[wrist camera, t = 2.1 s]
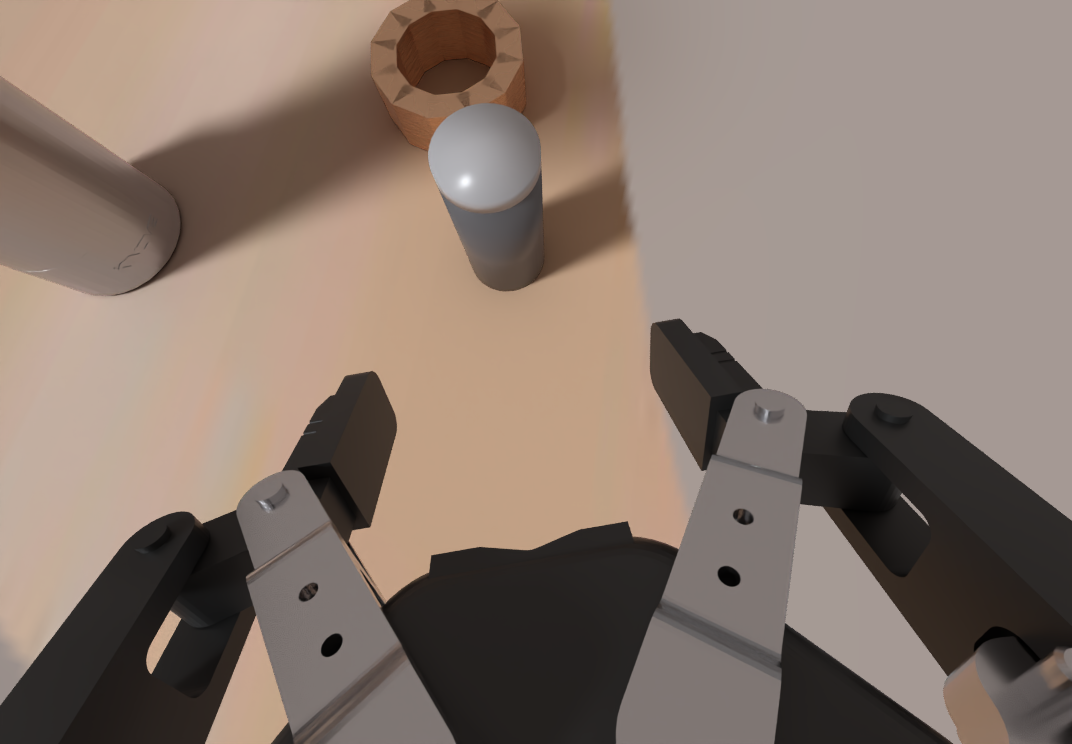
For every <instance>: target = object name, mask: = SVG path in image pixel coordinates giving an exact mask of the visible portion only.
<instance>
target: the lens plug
mask: <svg viewBox="0 0 1072 744" xmlns="http://www.w3.org/2000/svg"><path fill="white" fill-rule="evenodd" d="M428 160H429V166H430V170H431V172H432V174H433V177H434V179H435V181H436V184H437V186H438V188H439V191H440V193H441V195H442V198H443V200H444V202H445V205H446V207H447V209H448V212H449V214H450V216H451V219H452V221H453V223H454V226H455V228H456V230H457V233H458V235H459V237H460V240H461V242H462V244H463V247H464V249H465V251H466V254H467V256H468V258H469V261H470V263H471V265H472V268H473V270H474V272H475V274H476V276H477V277H478V278H479V280H480V281H481V282H482V283H484V284H485V285H486V286H488V287H490V288H492V289H495V290H499V291H514V290H518V289H521V288H523V287H525V286H527V285H529V284H530V283H531V282H532V281H534V280H535V279H536V277H537V276H538V275H539V273H540V271H541V269H542V267H543V263H544V235H543V204H542V173H541V146H540V140H539V137H538V134H537V132H536V130H535V128H534V126H533V125H532V124H531V122H530V121H529V120H528V119H527V118H526V117H525V116H524V115H522V114H521V113H519V112H518V111H516V110H514V109H512V108H510V107H507V106H504V105H500V104H493V103H481V104H474V105H471V106H467V107H464V108H462V109H460V110H458V111H456V112H454V113H453V114H451V115H450V116H448V117H447V118H446V119H445V120H444V121H443V122H442V123H441V124H440V125H439V126H438V128H437V129H436V131H435V132H434V135H433V137H432V139H431V142H430V145H429V151H428Z"/></svg>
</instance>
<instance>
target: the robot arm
mask: <svg viewBox="0 0 1072 744" xmlns="http://www.w3.org/2000/svg"><path fill="white" fill-rule="evenodd" d="M180 223H181V222H180V215H179V209H178V207H177V205H176V202H175V200H174V198H173V197H172V196H171V195H170V193H169V192H168V191H167V190H166V189H165V188H163V187H162V186H161V185H160V184H158V183H157V182H155V181H154V180H152V179H151V178H149V177H148V176H146V175H145V174H143V173H142V172H141V171H139V170H138V169H136V168H135V167H133V166H132V165H130V164H129V163H127V162H126V161H124V160H123V159H121V158H120V157H118V156H117V155H116V154H114V153H113V152H111V151H110V150H108V149H107V148H106V147H104V146H103V145H101V144H100V143H98V142H97V141H95V140H94V139H92V138H91V137H89V136H88V135H87V134H85V133H84V132H82V131H81V130H79V129H78V128H76V127H75V126H73V125H72V124H70V123H69V122H67V121H66V120H64V119H63V118H62V117H60V116H59V115H57V114H56V113H54V112H53V111H51V110H50V109H48V108H47V107H45V106H44V105H42V104H41V103H39V102H38V101H36V100H35V99H34V98H32V97H31V96H29V95H28V94H26V93H25V92H23V91H22V90H20V89H19V88H17V87H16V86H14V85H13V84H11V83H10V82H8V81H7V80H6V79H4V78H3V77H1V76H0V265H3V266H6V267H9V268H12V269H15V270H17V271H20V272H23V273H26V274H29V275H32V276H35V277H38V278H41V279H44V280H47V281H50V282H53V283H56V284H59V285H62V286H65V287H68V288H71V289H74V290H77V291H80V292H83V293H87V294H91V295H98V296H110V295H115V294H121V293H124V292H127V291H129V290H132V289H135V288H137V287H138V286H140V285H142V284H143V283H145V282H147V281H148V280H150V279H151V278H152V277H153V276H154V275H155V274H157V273H158V272H159V271H160V270H161V269H162V267H163V266H164V265H165V264H166V262H167V261H168V260H169V258H170V257H171V255H172V253H173V251H174V249H175V247H176V244H177V241H178V238H179V234H180ZM650 374H651V379H652V383H653V386H654V388H655V390H656V392H657V394H658V396H659V397H660V399H661V401H662V403H663V404H664V406H665V408H666V410H667V411H668V413H669V415H670V417H671V418H672V420H673V422H674V424H675V425H676V427H677V429H678V431H679V432H680V434H681V436H682V438H683V439H684V441H685V443H686V445H687V446H688V448H689V450H690V452H691V453H692V455H693V457H694V458H695V460H696V462H697V464H698V466H699V467H700V469H701V470H702V471H704V470H706V473H705V476H704V479H703V482H702V485H701V488H700V491H699V493H698V496H697V499H696V502H695V505H694V508H693V510H692V513H691V516H690V519H689V522H688V525H687V528H686V531H685V533H684V536H683V539H682V542H681V545H680V548H679V549H677V548H675V547H672V546H670V545H668V544H665V543H662V542H659V541H656V540H652V539H647V538H642V537H632V534H631V531H630V527H629V524H628V521H627V522H621V523H615V524H610V525H604V526H598V527H592V528H587V529H581V530H578V531H575V532H573V533H571V534H568V535H566V536H564V537H561V538H559V539H557V540H554V541H552V542H550V543H548V544H545V545H543V546H541V547H538V548H536V549H533V550H512V549H499V548H485V547H477V548H471V549H466V550H460V551H454V552H448V553H443V554H437V555H431V563H430V571H429V573H427V574H425V575H423V576H421V577H419V578H417V579H416V580H414V581H412V582H411V583H409V584H408V585H406V586H405V587H404V588H402V589H401V590H400V591H398V592H397V593H396V594H395V595H394V596H393V597H391V598H390V599H389V600H388V601H387V602H386V600H385V599H384V597H383V595H382V594H381V592H380V591H379V589H378V587H377V586H376V584H375V582H374V581H373V579H372V577H371V576H370V574H369V572H368V571H367V569H366V568H365V566H364V564H363V563H362V561H361V559H360V558H359V556H358V554H357V553H356V551H355V549H354V548H353V546H352V545H351V543H350V542H349V538H350V535H351V532H352V530H357V529H362V528H368V527H370V526H371V523H372V519H373V515H374V512H375V508H376V505H377V501H378V497H379V494H380V490H381V486H382V483H383V479H384V476H385V472H386V468H387V465H388V461H389V458H390V454H391V450H392V447H393V443H394V440H395V436H396V432H397V422H396V417H395V413H394V411H393V409H392V406H391V404H390V402H389V400H388V397H387V395H386V393H385V390H384V388H383V386H382V384H381V381H380V379H379V377H378V375H377V374H376V373H375V372H373V371H371V372H365V373H359V374H353V375H348V376H345V377H344V379H343V381H342V383H341V385H340V387H339V389H338V391H337V392H336V394H335V395H332V396H330V397H329V398H328V399H327V400H325V401H324V402H323V403H322V404H321V405H320V406H319V407H318V408H317V409H316V411H315V413H314V415H313V416H312V418H311V420H310V424H308V425H307V427H306V429H305V431H304V435H303V436H301V438H300V440H299V442H298V443H297V445H296V447H295V449H294V450H293V452H292V454H291V456H290V458H289V459H288V461H287V463H286V465H285V467H284V468H283V470H282V472H278V473H275V474H273V475H271V476H268V477H267V478H265V479H263V480H261V481H260V482H258V483H257V484H256V485H254V486H253V487H252V488H251V489H250V490H248V492H247V493H246V494H245V495H244V496H243V497H242V499H241V500H240V502H239V504H238V506H237V510H235V511H233V512H230V513H228V514H225V515H223V516H220V517H218V518H215V519H213V520H210V521H208V522H206V523H203V524H201V523H200V522H199V521H198V520H197V519H196V518H195V517H194V516H193V515H192V514H191V513H189V512H175V513H171V514H168V515H165V516H163V517H161V518H159V519H156V520H155V521H153V522H151V523H149V524H148V525H146V526H145V527H143V528H142V529H140V530H139V531H138V532H136V533H135V534H134V535H133V536H132V537H130V538H129V539H128V540H127V541H126V542H125V543H124V545H123V546H122V547H121V548H120V549H119V551H118V552H117V553H116V555H115V556H114V557H113V559H112V560H111V561H110V563H109V564H108V565H107V566H106V568H105V569H104V570H103V572H102V573H101V574H100V576H99V577H98V578H97V580H96V581H95V582H94V583H93V585H92V586H91V587H90V589H89V590H88V591H87V593H86V594H85V595H84V597H83V598H82V599H81V601H80V602H79V603H78V604H77V606H76V607H75V608H74V610H73V611H72V612H71V614H70V615H69V616H68V618H67V619H66V620H65V622H64V623H63V624H62V625H61V627H60V628H59V629H58V631H57V632H56V633H55V635H54V636H53V637H52V639H51V640H50V641H49V642H48V644H47V645H46V646H45V648H44V649H43V650H42V652H41V653H40V654H39V656H38V657H37V658H36V660H35V661H34V662H33V663H32V665H31V666H30V667H29V669H28V670H27V671H26V673H25V674H24V675H23V677H22V678H21V679H20V680H19V682H18V683H17V684H16V686H15V687H14V688H13V690H12V691H11V692H10V694H9V695H8V696H7V698H6V699H5V700H4V702H3V703H2V704H1V705H0V744H205V742H206V739H207V737H208V734H209V732H210V729H211V727H212V724H213V722H214V719H215V717H216V714H217V712H218V709H219V707H220V704H221V702H222V699H223V697H224V694H225V692H226V689H227V687H228V684H229V682H230V679H231V677H232V674H233V672H234V669H235V667H236V664H237V662H238V659H239V656H240V654H241V651H242V649H243V646H244V644H245V641H246V639H247V636H248V634H249V631H250V629H251V626H252V624H253V621H254V619H255V616H257V619H258V622H259V625H260V629H261V632H262V635H263V639H264V642H265V645H266V649H267V652H268V655H269V658H270V662H271V665H272V668H273V672H274V675H275V678H276V682H277V685H278V688H279V692H280V695H281V698H282V701H283V705H284V708H285V711H286V715H287V718H288V721H289V722H288V723H287V725H286V726H285V727H284V728H283V730H282V731H281V732H280V733H279V735H278V736H277V737H276V738H275V739H274V741H273V742H272V743H271V744H953V743H951V742H950V741H949V740H948V739H946V738H945V737H943V736H942V735H941V734H940V733H938V732H937V731H935V730H934V729H933V728H931V727H930V726H928V725H927V724H926V723H924V722H923V721H921V720H920V719H919V718H917V717H916V716H914V715H913V714H912V713H910V712H909V711H907V710H906V709H905V708H903V707H902V706H900V705H899V704H898V703H896V702H895V701H893V700H892V699H891V698H889V697H888V696H886V695H885V694H884V693H882V692H881V691H879V690H878V689H877V688H875V687H874V686H872V685H871V684H870V683H868V682H866V681H865V680H864V679H863V678H861V677H860V676H858V675H857V674H855V673H854V672H853V671H851V670H850V669H849V668H847V667H846V666H844V665H843V664H842V663H840V662H839V661H837V660H836V659H834V658H833V657H832V656H830V655H829V654H827V653H826V652H825V651H823V650H822V649H820V648H819V647H818V646H816V645H815V644H814V643H812V642H811V641H809V640H808V639H807V638H805V637H804V636H802V635H801V634H800V633H798V632H796V631H795V630H794V629H793V628H791V627H790V626H788V625H787V624H786V623H785V618H786V611H787V603H788V595H789V587H790V579H791V571H792V562H793V554H794V547H795V539H796V531H797V523H798V514H799V507H800V504H805V505H813V506H823V507H824V509H825V510H826V512H827V513H828V514H829V516H830V517H831V519H832V520H833V521H834V523H835V524H836V525H837V527H838V528H839V529H840V530H841V532H842V533H843V535H844V536H845V537H846V539H847V540H848V542H849V543H850V544H851V545H852V547H853V548H854V550H855V551H856V552H857V554H858V555H859V556H860V558H861V559H862V560H863V562H864V563H865V565H866V566H867V567H868V569H869V570H870V571H871V572H872V574H873V575H874V577H875V578H876V580H877V581H878V582H879V583H880V585H881V586H882V588H883V589H884V590H885V592H886V593H887V594H888V596H889V597H890V599H891V600H892V601H893V603H894V604H895V605H896V607H897V608H898V609H899V611H900V612H901V614H902V615H903V616H904V617H905V619H906V620H907V622H908V623H909V624H910V626H911V627H912V628H913V630H914V631H915V633H916V634H917V635H918V637H919V638H920V639H921V641H922V642H923V643H924V645H925V646H926V647H927V649H928V650H929V652H930V653H931V654H932V656H933V657H934V658H935V660H936V661H937V662H938V664H939V665H940V666H941V668H942V669H943V670H944V672H945V673H946V675H947V676H948V677H947V679H946V681H945V683H944V688H943V693H944V700H945V704H946V707H947V710H948V712H949V715H950V717H951V718H952V720H953V722H954V724H955V725H956V727H957V734H958V737H959V739H960V741H961V743H962V744H1072V521H1071V520H1070V519H1069V518H1067V517H1066V516H1065V515H1063V514H1062V513H1061V512H1060V511H1058V510H1057V509H1056V508H1054V507H1053V506H1052V505H1050V504H1049V503H1048V502H1047V501H1045V500H1044V499H1043V498H1041V497H1040V496H1039V495H1038V494H1036V493H1035V492H1034V491H1032V490H1031V489H1030V488H1028V487H1027V486H1026V485H1025V484H1023V483H1022V482H1021V481H1019V480H1018V479H1017V478H1015V477H1014V476H1013V475H1012V474H1010V473H1009V472H1008V471H1006V470H1005V469H1004V468H1002V467H1001V466H1000V465H999V464H997V463H996V462H995V461H993V460H992V459H991V458H989V457H988V456H987V455H986V454H984V453H983V452H982V451H980V450H979V449H978V448H977V447H975V446H974V445H973V444H971V443H970V442H969V441H967V440H966V439H965V438H964V437H962V436H961V435H960V434H958V433H957V432H956V431H955V430H953V429H952V428H950V427H949V426H948V425H947V424H946V423H944V422H943V421H942V420H940V419H939V418H938V417H936V416H935V415H934V414H933V413H931V412H930V411H929V410H927V409H926V408H924V407H923V406H921V405H919V404H917V403H916V402H913V401H911V400H909V399H906V398H903V397H899V396H895V395H890V394H884V393H867V394H863V395H860V396H857V397H855V398H854V399H853V400H852V401H851V403H850V405H849V408H848V410H847V412H829V411H811V410H806V409H805V408H804V406H803V405H802V404H801V403H800V402H799V401H798V400H797V399H795V398H793V397H792V396H790V395H788V394H785V393H782V392H779V391H775V390H770V389H762V387H761V386H760V385H759V384H758V383H757V382H756V381H755V380H754V379H753V378H752V377H751V376H750V375H749V374H748V373H747V372H746V370H744V368H743V367H742V366H741V365H740V364H739V363H738V362H737V361H735V360H734V358H733V357H732V356H731V355H730V354H729V352H728V353H727V352H726V349H725V348H724V347H723V346H722V345H721V344H720V343H719V342H718V341H717V340H716V339H714V338H712V337H710V336H708V335H706V334H704V333H702V332H699V333H692V332H691V330H690V329H689V328H688V327H687V326H686V324H685V323H684V322H683V321H682V320H681V319H673V320H668V321H662V322H656V323H653V324H652V326H651V340H650ZM902 493H903V494H904V495H905V496H906V497H907V498H908V499H909V500H910V501H911V503H912V504H913V505H914V506H915V507H916V508H917V509H918V510H919V511H920V512H921V513H922V514H923V515H924V517H925V518H926V520H927V522H928V524H929V526H928V525H927V524H926V522H925V521H924V520H923V519H922V518H921V517H920V516H919V515H918V514H917V513H916V512H915V511H914V510H913V509H912V508H911V507H910V506H909V505H908V504H907V502H905V500H903V498H902V497H901V496H900V495H901V494H902ZM170 610H171V611H172V612H173V613H175V614H176V615H177V616H179V617H180V618H181V621H180V622H179V624H178V626H177V628H176V630H175V632H174V634H173V635H172V637H171V639H170V641H169V643H168V645H167V647H166V648H165V650H164V652H163V654H162V656H161V658H160V660H159V661H158V663H157V665H156V667H155V669H154V671H153V673H152V674H150V673H149V671H148V669H147V665H146V658H147V652H148V649H149V647H150V645H151V643H152V641H153V639H154V637H155V636H156V634H157V632H158V630H159V629H160V627H161V625H162V623H163V622H164V620H165V618H166V616H167V615H168V613H169V611H170Z"/></svg>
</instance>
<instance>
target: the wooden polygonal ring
mask: <svg viewBox="0 0 1072 744" xmlns="http://www.w3.org/2000/svg"><path fill="white" fill-rule="evenodd" d="M461 58H469V59H472V60H474V61H477V62H480V63H482V64H485V65H488V66H489V67H490V70H489V72H488V73H487V75H486V77H485V78H484V79H483V80H481V81H479V82H478V83H476V84H475V85H473V86H471V87H470V88H468V89H466V90H465V91H463V92H459V93H449V94H439V95H433V94H431V93H428V92H426V91H423V90H420V89H418V88H415V87H416V86H417V84H418V82H419V81H420V79H421V77H422V76H423V74H424V72H426V71H427V70H429V69H431V68H432V67H434V66H436V65H437V64H439V63H440V62H442V61H444V60H452V59H461ZM371 76H372V79H373V81H374V83H375V85H376V87H377V89H378V91H379V93H380V95H381V97H382V99H383V102H384V104H385V106H386V108H387V110H388V112H389V114H390V116H391V118H392V120H393V121H394V122H395V124H396V125H397V126H398V128H399V129H400V131H401V132H402V133H403V135H404V136H405V137H406V139H407V140H408V141H409V143H410V144H412V145H414V146H417V147H419V148H422V149H424V150H427V151H429V145H430V142H431V139H432V137H433V135H434V132H435V131H436V129H437V128H438V126H439V125H440V124H441V123H442V122H443V121H444V120H445V119H446V118H447V117H448V116H450V115H451V114H453V113H454V112H456V111H458V110H460V109H462V108H464V107H467V106H471V105H474V104H481V103H493V104H500V105H504V106H507V107H510V108H512V109H514V110H516V111H518V112H519V113H521V114H522V112H523V110H524V108H525V106H526V94H525V79H524V65H523V53H522V43H521V32H520V26H519V25H518V24H517V23H516V21H515V20H514V19H513V18H512V17H511V15H510V14H509V13H508V12H507V11H506V10H505V8H504V7H503V6H502V5H501V4H500V3H499V1H498V0H409V1H408V2H406V3H404V4H402V5H401V6H399V7H397V8H396V9H394V10H392V11H390V13H389V14H388V16H387V18H386V19H385V21H384V22H383V24H382V25H381V27H380V29H379V30H378V32H377V33H376V35H375V36H374V38H373V39H372V41H371Z"/></svg>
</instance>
